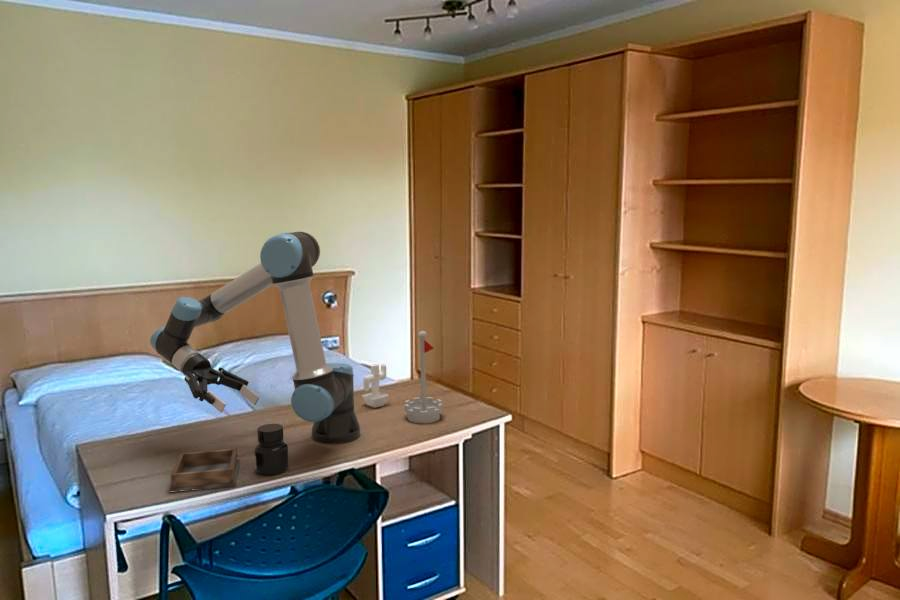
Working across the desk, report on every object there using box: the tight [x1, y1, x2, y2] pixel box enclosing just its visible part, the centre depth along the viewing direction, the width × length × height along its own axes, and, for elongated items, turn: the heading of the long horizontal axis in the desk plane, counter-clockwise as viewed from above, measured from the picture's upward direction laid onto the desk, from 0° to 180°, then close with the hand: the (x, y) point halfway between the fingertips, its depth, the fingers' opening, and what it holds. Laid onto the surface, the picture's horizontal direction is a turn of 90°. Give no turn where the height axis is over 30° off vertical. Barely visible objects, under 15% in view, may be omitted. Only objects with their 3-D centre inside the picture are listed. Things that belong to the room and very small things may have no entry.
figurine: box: [361, 363, 390, 408], centre depth 239 cm, size 7×9×15 cm
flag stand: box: [403, 330, 444, 424], centre depth 223 cm, size 13×13×30 cm
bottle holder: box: [169, 448, 241, 492], centre depth 178 cm, size 16×16×4 cm
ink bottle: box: [253, 423, 289, 476], centre depth 183 cm, size 10×9×12 cm
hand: (240, 404), depth 189 cm, fingers open, 13 cm apart
